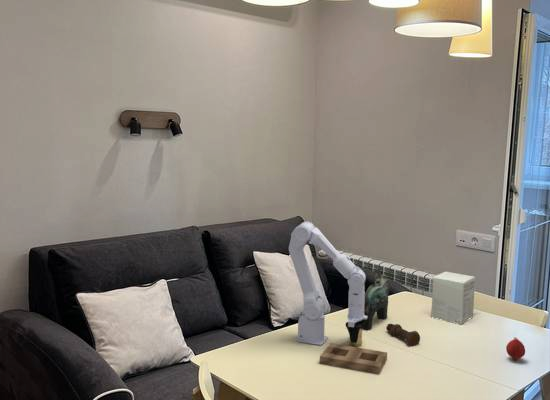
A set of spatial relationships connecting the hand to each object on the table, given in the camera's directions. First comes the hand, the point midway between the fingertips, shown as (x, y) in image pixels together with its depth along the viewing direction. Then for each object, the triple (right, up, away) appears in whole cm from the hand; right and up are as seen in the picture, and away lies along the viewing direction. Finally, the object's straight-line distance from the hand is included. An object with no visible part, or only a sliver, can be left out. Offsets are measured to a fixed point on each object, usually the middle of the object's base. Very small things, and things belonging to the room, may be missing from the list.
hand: (355, 339), depth 189 cm
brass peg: (0, -2, 0) cm, 2 cm away
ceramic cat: (+12, 0, +22) cm, 25 cm away
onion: (+52, -4, -12) cm, 54 cm away
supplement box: (+45, +1, +30) cm, 54 cm away
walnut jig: (-3, -4, -14) cm, 14 cm away
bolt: (+18, -2, +7) cm, 20 cm away
